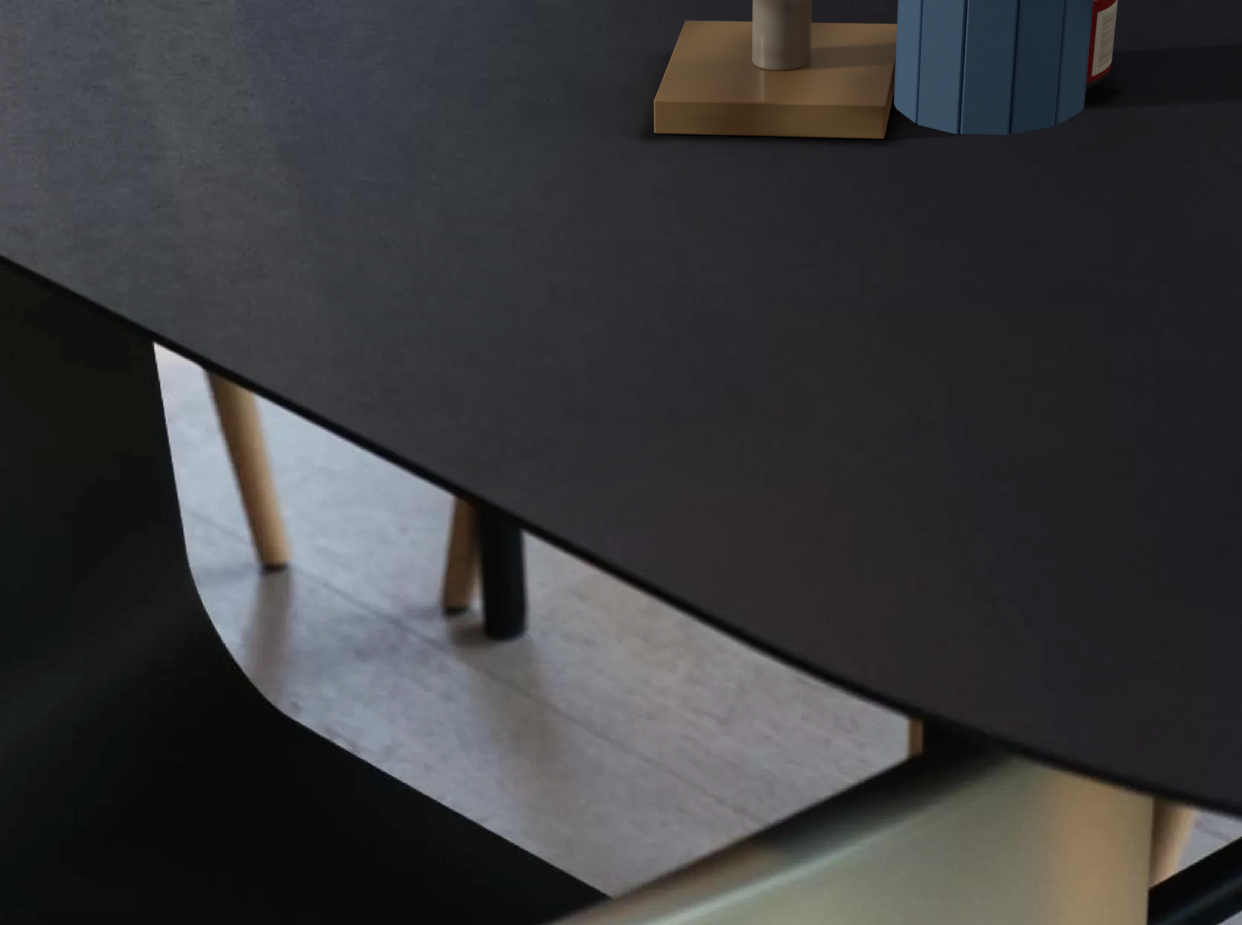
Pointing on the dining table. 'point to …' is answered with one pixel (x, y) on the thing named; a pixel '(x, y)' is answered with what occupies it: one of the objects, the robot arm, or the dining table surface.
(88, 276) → the dining table surface
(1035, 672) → the dining table surface
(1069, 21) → the sleeve
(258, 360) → the dining table surface
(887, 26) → the wooden base plate
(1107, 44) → the soda can
